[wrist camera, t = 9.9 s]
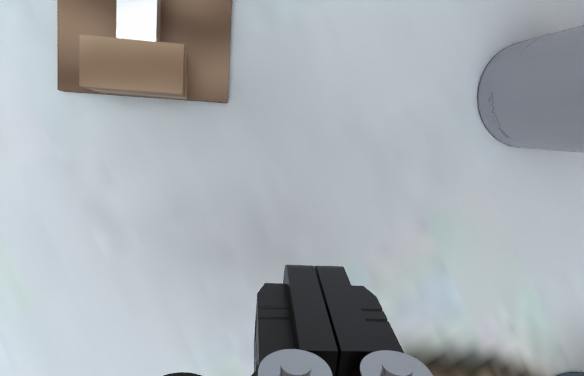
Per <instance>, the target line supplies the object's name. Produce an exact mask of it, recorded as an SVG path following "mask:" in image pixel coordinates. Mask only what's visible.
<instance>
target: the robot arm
mask: <svg viewBox="0 0 584 376" xmlns="http://www.w3.org/2000/svg"><path fill="white" fill-rule="evenodd" d="M478 104H479V111H480V114H481V118H482V120H483V122H484V124H485V126H486V128H487V129H488V130H489V132H490V133H491V134H492V135H493V136H494V137H495V138H496V139H498V140H499V141H500V142H502V143H504V144H507V145H509V146H513V147H519V148H532V149H545V150H557V151H571V152H584V25H583V26H579V27H576V28H572V29H568V30H564V31H561V32H557V33H553V34H549V35H545V36H541V37H538V38H534V39H530V40H527V41H523V42H519V43H516V44H512V45H510V46H508V47H507V48H505V49H503V50H502V51H500V52H499V53H498V54H497V55H496V56H495V57H494V58H493V59H492V60H491V61H490V63H489V64H488V65H487V67H486V69H485V71H484V73H483V75H482V78H481V82H480V85H479V92H478ZM164 376H201V375H197V374H193V373H183V372H181V373H172V374H167V375H164ZM251 376H433V375H432V374H431V372H430V371H429V369H428V368H427V367H426V366H425V365H424V364H423V363H421V362H420V361H419V360H417V359H415V358H414V357H412V356H409V355H407V354H404V352H403V350H402V348H401V346H400V344H399V342H398V340H397V338H396V336H395V334H394V332H393V330H392V328H391V326H390V324H389V322H387V318H386V316H385V313H384V311H382V307H381V305H380V303H379V301H378V299H377V297H376V296H375V295H373V294H372V293H371V292H370V291H369V290H367V289H366V288H365V287H364V286H351V284H350V281H349V279H348V277H347V274H346V272H345V269H344V267H338V266H315V267H314V266H305V265H285V270H284V280H283V284H274V283H265V284H264V286H263V287H262V288H261V289H260V291H259V292H258V293H257V306H256V321H255V337H254V373H253V374H252V375H251Z"/></svg>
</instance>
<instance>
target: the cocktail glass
mask: <svg viewBox="0 0 584 376" xmlns="http://www.w3.org/2000/svg"><path fill="white" fill-rule="evenodd" d="M558 376H584V373H580V372H569V373H565V374H561V375H558Z"/></svg>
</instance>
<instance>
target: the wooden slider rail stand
mask: <svg viewBox="0 0 584 376" xmlns="http://www.w3.org/2000/svg"><path fill="white" fill-rule="evenodd" d="M116 8H117V0H58V90H60V91H65V92H79V93H93V94H107V95H121V96H135V97H149V98H164V99H178V100H192V101H206V102H220V103H227V100H228V77H229V54H230V31H231V8H232V0H161V27H160V42H156V41H145V40H134V39H123V38H116Z"/></svg>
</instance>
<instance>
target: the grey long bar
mask: <svg viewBox="0 0 584 376" xmlns="http://www.w3.org/2000/svg"><path fill="white" fill-rule="evenodd" d="M160 27H161V0H117V8H116V38H123V39H134V40H145V41H156V42H160Z"/></svg>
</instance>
